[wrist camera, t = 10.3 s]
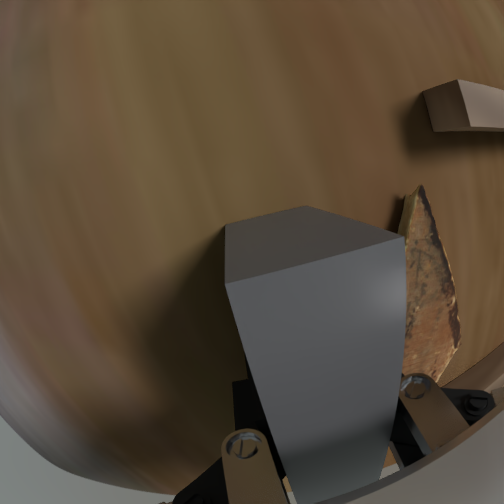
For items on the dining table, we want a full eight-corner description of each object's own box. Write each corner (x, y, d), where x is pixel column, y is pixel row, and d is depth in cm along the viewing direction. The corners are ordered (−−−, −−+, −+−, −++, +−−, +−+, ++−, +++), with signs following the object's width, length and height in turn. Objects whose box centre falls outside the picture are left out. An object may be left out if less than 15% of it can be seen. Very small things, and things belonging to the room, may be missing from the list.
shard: (400, 182, 11) (425, 183, 9) (485, 231, 12) (506, 237, 10) (321, 390, 13) (332, 413, 11) (418, 389, 14) (432, 404, 12)
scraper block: (225, 224, 10) (224, 283, 4) (306, 205, 10) (404, 236, 4) (283, 436, 13) (305, 524, 7) (334, 422, 13) (370, 503, 7)
